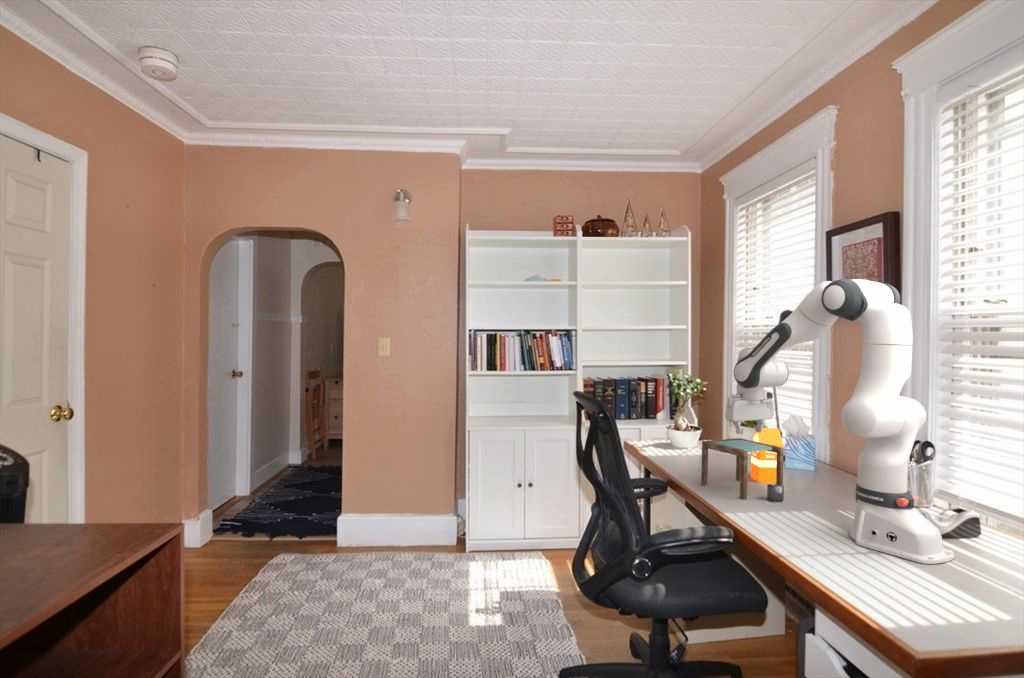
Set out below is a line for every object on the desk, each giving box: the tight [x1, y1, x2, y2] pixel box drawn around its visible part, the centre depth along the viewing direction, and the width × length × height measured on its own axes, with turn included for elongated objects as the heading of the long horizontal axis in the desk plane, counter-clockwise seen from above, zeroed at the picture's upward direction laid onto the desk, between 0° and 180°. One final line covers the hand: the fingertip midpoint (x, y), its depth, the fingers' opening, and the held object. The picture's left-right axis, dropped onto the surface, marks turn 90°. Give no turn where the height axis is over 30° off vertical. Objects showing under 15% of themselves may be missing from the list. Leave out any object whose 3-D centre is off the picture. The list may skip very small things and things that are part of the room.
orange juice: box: [750, 427, 784, 484], centre depth 207 cm, size 8×9×20 cm
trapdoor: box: [712, 440, 772, 453], centre depth 195 cm, size 14×14×1 cm
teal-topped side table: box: [700, 437, 785, 500], centre depth 195 cm, size 19×19×16 cm
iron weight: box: [766, 483, 785, 503], centre depth 182 cm, size 5×5×5 cm
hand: (749, 433), depth 192 cm, fingers open, 8 cm apart
